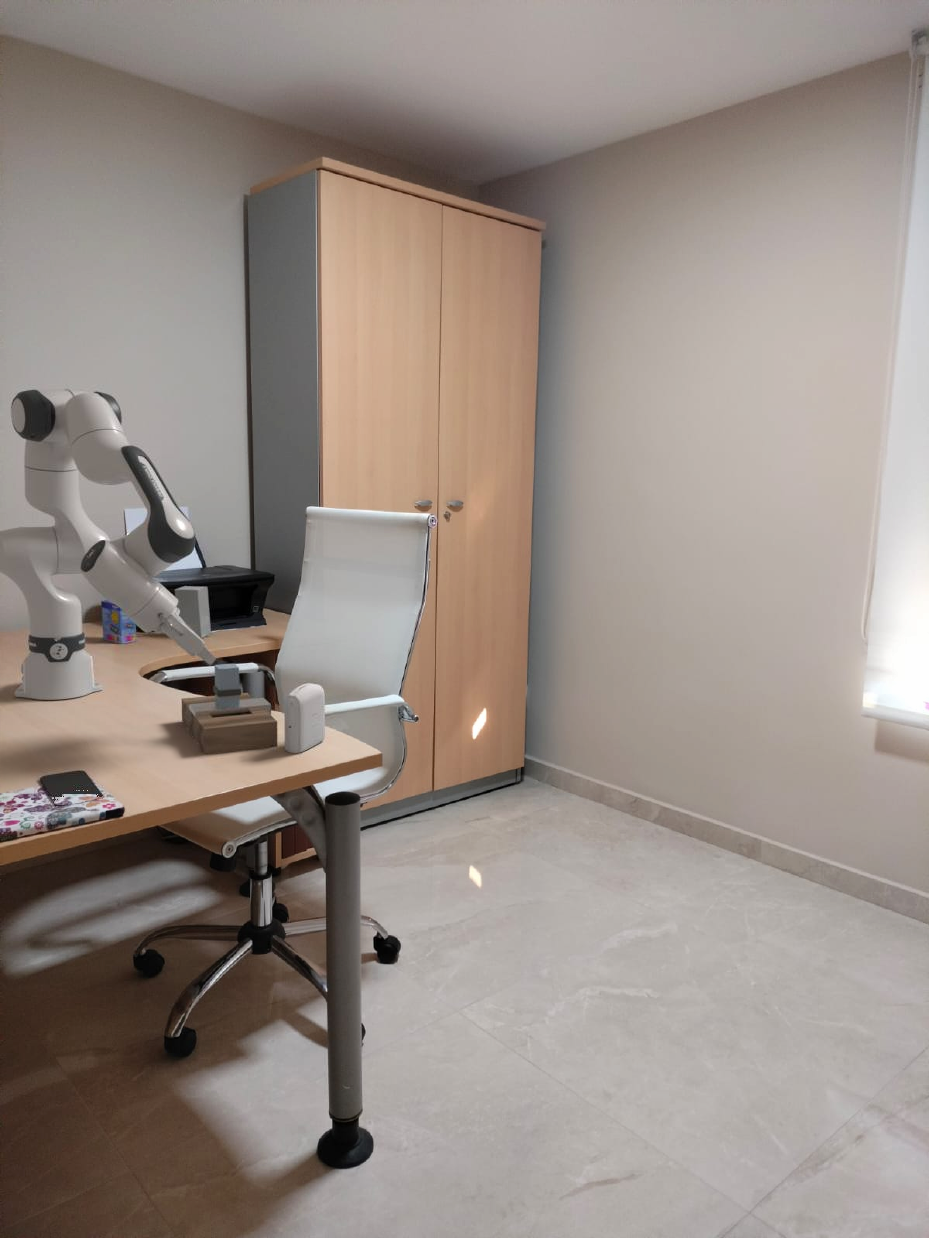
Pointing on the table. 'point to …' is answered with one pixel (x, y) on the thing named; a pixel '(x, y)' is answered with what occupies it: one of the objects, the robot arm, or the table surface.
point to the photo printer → (304, 717)
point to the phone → (69, 784)
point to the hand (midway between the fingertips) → (207, 656)
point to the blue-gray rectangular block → (227, 685)
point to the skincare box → (194, 608)
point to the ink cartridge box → (117, 624)
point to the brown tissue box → (229, 728)
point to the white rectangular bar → (244, 706)
